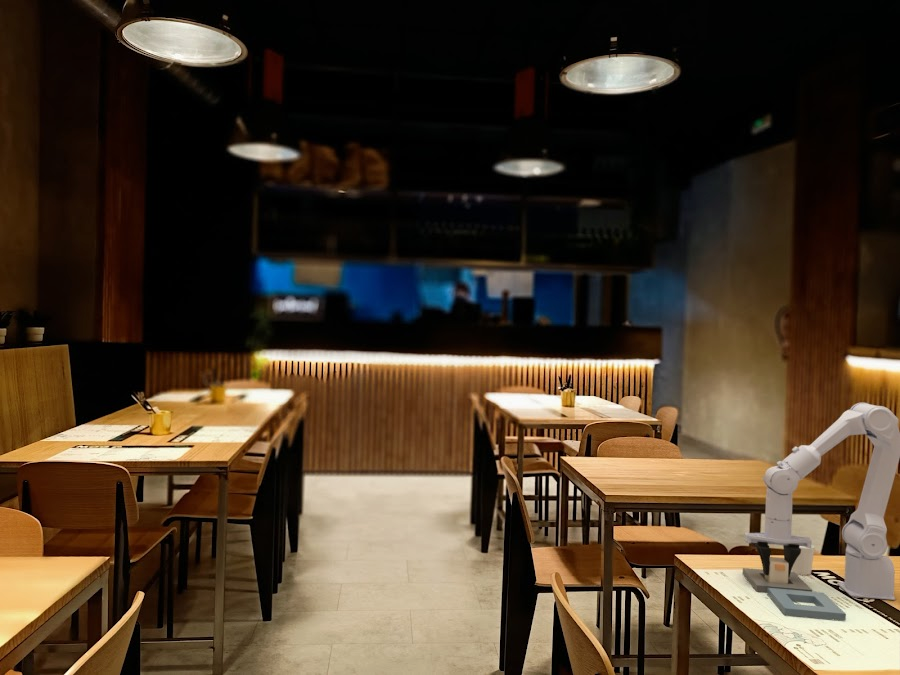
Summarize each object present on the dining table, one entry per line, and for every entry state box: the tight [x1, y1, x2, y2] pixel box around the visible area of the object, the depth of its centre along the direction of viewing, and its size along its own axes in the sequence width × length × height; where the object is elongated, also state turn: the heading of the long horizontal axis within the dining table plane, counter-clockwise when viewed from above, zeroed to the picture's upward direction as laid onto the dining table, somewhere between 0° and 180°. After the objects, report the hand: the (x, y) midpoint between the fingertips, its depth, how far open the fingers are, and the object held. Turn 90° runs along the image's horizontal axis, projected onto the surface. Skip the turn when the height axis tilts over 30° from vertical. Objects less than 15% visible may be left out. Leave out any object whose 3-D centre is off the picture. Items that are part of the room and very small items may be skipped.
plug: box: [765, 556, 789, 584], centre depth 161 cm, size 4×5×6 cm
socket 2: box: [766, 588, 847, 621], centre depth 149 cm, size 12×12×2 cm
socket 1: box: [742, 567, 813, 594], centre depth 162 cm, size 12×12×2 cm
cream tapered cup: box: [791, 544, 816, 576], centre depth 172 cm, size 7×7×7 cm
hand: (776, 574), depth 162 cm, fingers closed on plug, 4 cm apart
